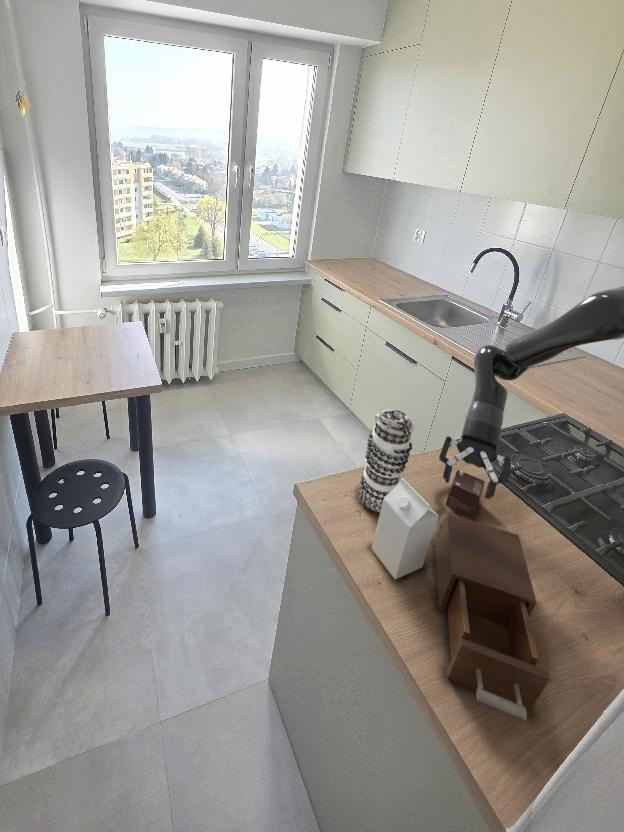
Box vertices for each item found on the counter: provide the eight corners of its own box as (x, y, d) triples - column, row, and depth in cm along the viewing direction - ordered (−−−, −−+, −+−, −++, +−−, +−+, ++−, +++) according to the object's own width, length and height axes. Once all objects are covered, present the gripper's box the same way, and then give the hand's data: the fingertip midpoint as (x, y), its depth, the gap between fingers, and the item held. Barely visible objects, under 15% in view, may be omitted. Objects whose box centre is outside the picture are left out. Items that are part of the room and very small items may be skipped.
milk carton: (397, 540, 90) (415, 473, 82) (421, 569, 84) (444, 500, 76) (370, 551, 87) (387, 482, 79) (394, 582, 81) (414, 511, 73)
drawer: (536, 747, 59) (558, 714, 55) (449, 709, 62) (464, 676, 59) (512, 629, 73) (528, 597, 70) (442, 603, 77) (454, 571, 73)
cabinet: (516, 641, 72) (536, 602, 68) (438, 612, 76) (452, 573, 72) (502, 571, 84) (518, 535, 80) (434, 549, 88) (447, 513, 84)
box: (472, 520, 95) (480, 497, 92) (444, 507, 98) (451, 483, 95) (476, 504, 100) (485, 480, 97) (450, 491, 103) (457, 468, 100)
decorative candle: (395, 492, 102) (417, 408, 92) (396, 523, 94) (420, 434, 83) (357, 482, 104) (374, 399, 94) (354, 511, 96) (373, 424, 86)
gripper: (452, 410, 101) (434, 475, 97) (520, 431, 94) (505, 503, 90) (449, 417, 107) (432, 478, 103) (513, 437, 101) (498, 504, 96)
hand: (466, 490), depth 96 cm, fingers open, 8 cm apart
